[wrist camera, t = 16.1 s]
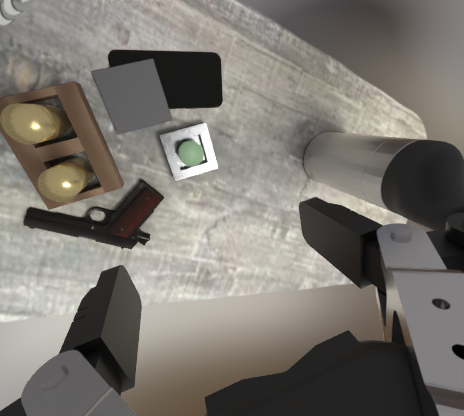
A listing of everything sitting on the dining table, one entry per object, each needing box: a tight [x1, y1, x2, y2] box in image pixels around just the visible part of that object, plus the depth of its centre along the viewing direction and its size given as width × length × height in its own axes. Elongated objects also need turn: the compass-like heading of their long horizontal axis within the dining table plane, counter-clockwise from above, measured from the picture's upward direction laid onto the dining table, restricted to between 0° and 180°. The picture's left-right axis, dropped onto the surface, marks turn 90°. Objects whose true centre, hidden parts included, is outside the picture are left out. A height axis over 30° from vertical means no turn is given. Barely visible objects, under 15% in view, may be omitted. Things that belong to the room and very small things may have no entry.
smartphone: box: [108, 50, 223, 109], centre depth 34 cm, size 7×1×15 cm
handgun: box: [24, 179, 164, 249], centre depth 37 cm, size 2×17×12 cm
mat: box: [92, 59, 172, 134], centre depth 33 cm, size 8×8×1 cm
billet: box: [0, 103, 72, 144], centre depth 28 cm, size 4×4×8 cm
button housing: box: [159, 123, 218, 181], centre depth 37 cm, size 7×7×2 cm
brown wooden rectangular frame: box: [0, 82, 124, 210], centre depth 32 cm, size 10×14×2 cm
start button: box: [178, 140, 204, 166], centre depth 36 cm, size 4×4×2 cm
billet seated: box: [38, 157, 95, 202], centre depth 31 cm, size 4×4×8 cm
